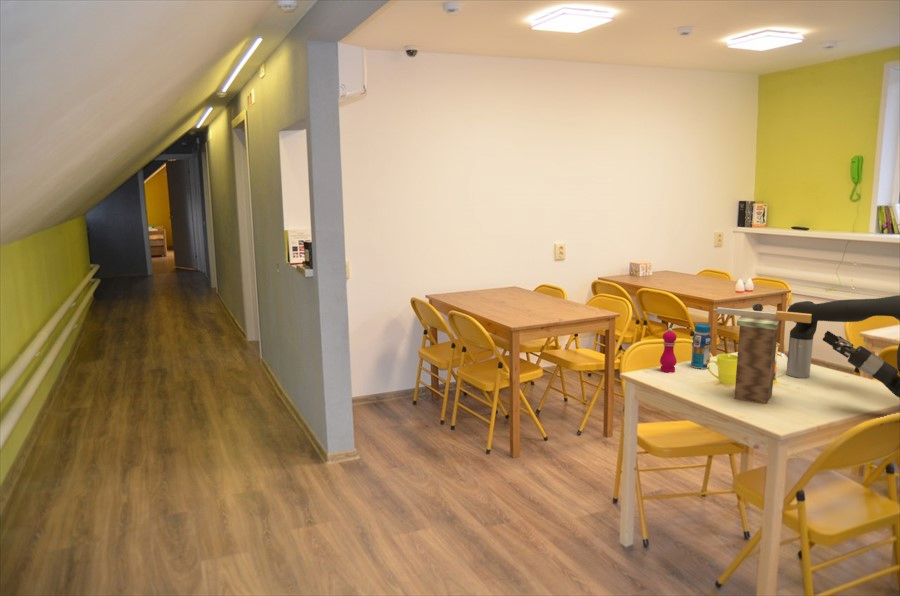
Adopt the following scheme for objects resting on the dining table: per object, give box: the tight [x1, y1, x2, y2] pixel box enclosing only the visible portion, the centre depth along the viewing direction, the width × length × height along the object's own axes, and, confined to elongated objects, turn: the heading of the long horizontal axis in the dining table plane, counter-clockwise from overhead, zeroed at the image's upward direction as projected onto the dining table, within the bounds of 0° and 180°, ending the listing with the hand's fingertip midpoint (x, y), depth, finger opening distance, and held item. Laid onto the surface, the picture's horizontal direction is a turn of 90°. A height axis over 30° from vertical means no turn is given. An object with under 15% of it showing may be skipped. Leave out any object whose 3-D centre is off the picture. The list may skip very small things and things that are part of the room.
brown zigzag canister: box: [733, 316, 783, 405], centre depth 262 cm, size 14×15×32 cm
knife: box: [712, 306, 812, 323], centre depth 262 cm, size 36×3×3 cm, turn 57°
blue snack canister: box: [690, 323, 712, 370], centre depth 304 cm, size 8×8×20 cm
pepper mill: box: [659, 327, 677, 373], centre depth 299 cm, size 7×7×20 cm
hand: (824, 335), depth 250 cm, fingers open, 8 cm apart
